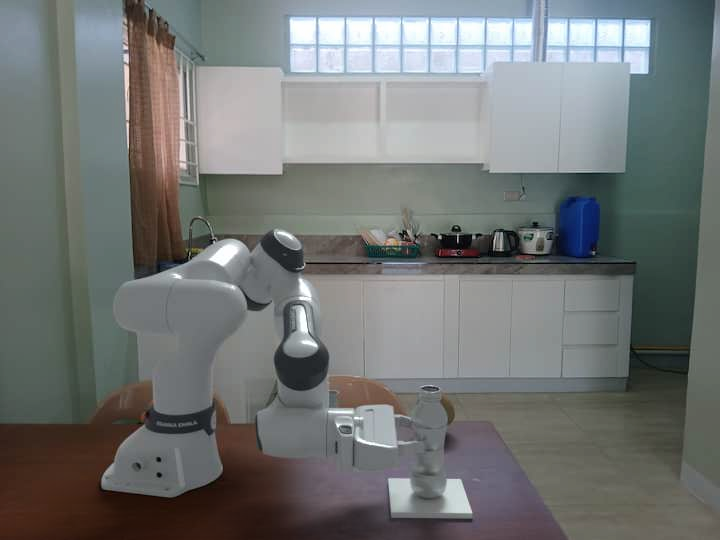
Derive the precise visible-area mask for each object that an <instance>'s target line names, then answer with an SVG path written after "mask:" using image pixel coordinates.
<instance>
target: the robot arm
mask: <svg viewBox="0 0 720 540" xmlns="http://www.w3.org/2000/svg"><path fill="white" fill-rule="evenodd" d="M259 241H260V242H258V244H257V245H256V246H255V247H254V249H253V250H252V251H251V252H250V250H249V248H248V246H246V244H244V243H243V242H242V241H241V240H238V239H236V238H225V239H221V240H219V241H216V242H214V243H212V244H210V245H209V246H207V247H206V248H204V249H203V250H202V251H201V252H199V253H198V254H197V255H195V256H194V257H193V258H191V259H190V260H189V261H187V262H185V263H183V264H180V265H177V266H175V267H172V268H169V269H167V270H164V271H161V272H159V273H156V274H153V275H150V276H149V275H148V276H146V277H142V278H138V279H133V280H128V281H126V282H124V283H122V285H120V286H119V288H118V289H117V290H116V293H115V295H114V298H113V302H112V313H113V316H114V319H115V321H116V323H118V324H117V325H119V326H120V328H122V329H124V330H127V331H130V332H132V333H133V332H134V333H137V334H142V335H147V336H167V337H177V339H178V346H177V350H176V351H174V352H172V353H170V354H168V355H165V356H164V357H163V358H161V359H160V360H159V361H158V362H157V363H156V364H155V366H154V368H153V371H152V400H151V401H150V402H149V403H148V404H147V405H148V406H147V407H146V408H145V409H144V411H143V413H142V414H141V417H140V418H141V419H140V420H141V422H144V424H143V425H142V426H141V427H139V428H138V429H136V430H135V431H134V432H133V433H131V434H130V435H129V436H128V437H127V438H125V440H124V441H123V442H121V444H120V445H119V446H118V448H117V451H116V453H115V456H114V461H113V463H111V465H110V466H109V467H107V469H106V470H105V471H104V473H103V475H102V477H101V483H100V486H101V488H102V490H105V491H114V492H122V493H129V494H137V495H138V494H140V495H146V496H155V497H164V498H175V497H177V496H180V495H182V494H184V493H186V492H188V491H190V490H194V489H197V488H201V487H204V486H206V485H208V484H210V483H211V482H214V481H216V480H217V479H218V478H220V476H221V474H222V473H223V470H224V469H223V464H222V462H221V458H220V455H219V451H218V445H217V439H216V432H215V431H216V427H217V411H216V404H215V403H216V402H215V400H214V399H213V383H214V381H213V380H214V367H215V366H214V365H215V361H216V358H217V357H218V356H217V355H218V354H219V352H220V350H221V348H222V347H223V345H224V344H225V343H226V341H228V339H229V340H230V338H231V337H232V336H234V335H235V334H237V333H238V332H239V330H240V329H241V328H242V327H243V325H244V323H245V321H246V318H247V315H248V311H250V312H261V311H263V310H265V309H266V308H267V307H268V306H270V305H271V303H272V302H273V303H274V307H273V308H274V309H273V321H274V322H273V323H274V328H275V332H276V335H277V338H278V340H279V341H280V343H279V345H278V347H277V349H276V350H275V352H274V355H273V364H274V369H275V374H276V381H277V391H278V393H277V394H276V397H275V398H274V400H273V401H272V402H271V403H270V404H269V405H267V407H266V408H264V409H262V410H258V411H257V412H256V414H255V417H254V418H255V419H254V429H255V438H256V445H257V448H258V449H259V450H258V451H260V452H261V453H262V454H264V455H266V456H270V457H276V458H282V459H283V458H284V459H305V458H309V457H319V458H322V459H328V460H331V459H332V460H333V461H334V462H335V464H336V465H337V466H338V469H339V471H341V472H343V473H344V472H345V473H351V472H353V471H354V468H355V469H356V470H358V471H390V470H393V469H395V468H397V467H398V466H399V457H405V456H410V455H411V454H412V455H413V454H414V452H416V453H422V452H424V441H423V440H422V439H414V440H411V441H406V442H405V441H404V440H398V436H397V435H398V434H397V429H398V428H399V429H400V428H406V429H407V428H408V429H409V430H410V431H411V430H412V424H411V423H412V422H411V417H409V416H406V415H404V414H398V413H397V414H395V408H394V406H393V405H389V404H367V405H360V406H356V408H355V407H339V408H329V390H330V385H329V382H330V381H329V365H330V354H329V350H328V348H327V346H325V344H324V343H323V342H322V340H321V339H320V338H321V335H322V331H323V323H324V322H323V319H324V318H323V310H322V305H321V304H322V303H321V301H320V298H319V295H318V292H317V291H316V289H315V287H314V285H313V284H312V282H310V281H308V280H307V279H305V278H304V277H303V276H302V275H301V272H302V271H304V270H305V269H306V262H305V261H304V259H305V258H304V256H305V255H304V254H305V253H304V250H303V247H302V244H301V241H299V239H298V238H297V237H296V236H295V235H293V234H291V233H290V232H289V231H286V230H284V229H280V228H274V229H273V228H272V229H270V230H269V231H267V232H266V233H265V234H264V235H263V236H262V237H261V238H260V240H259Z"/></svg>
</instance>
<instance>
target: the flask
mask: <svg viewBox="0 0 720 540" xmlns="http://www.w3.org/2000/svg"><path fill="white" fill-rule="evenodd" d="M339 396H340V391H339V390H336V389H332V390H331V389H329V408H340V406H339Z"/></svg>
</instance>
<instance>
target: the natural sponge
mask: <svg viewBox="0 0 720 540" xmlns="http://www.w3.org/2000/svg"><path fill="white" fill-rule="evenodd" d="M451 400H452V399H450V398H449V397H448V396H447V395H446V394H444V393H443V392H441V400H440V401H439V402H440V404H441V405H442V406H443V408H444V410H445V411H446V413H447V417H448V421H447V427H448V426H449V425H451V424H452V423H453V422H454V420H455V416H456V414H455V413H456V412H455V408H454V405H453V403H452V401H451ZM419 402H420V399H419V398H418V399H417V401H416V404H415V406H416V405H417V404H418V403H419Z"/></svg>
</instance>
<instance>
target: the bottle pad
mask: <svg viewBox="0 0 720 540" xmlns="http://www.w3.org/2000/svg"><path fill="white" fill-rule="evenodd" d="M446 479H447V485H446V490H445V492H444V493H443V494H442V495H441V496H440V497H438V498H433V499H428V498H422V497H419V496H417V495H416V494H415V493H414V492H413V490H412V489H411V485H410V477H409V478H402V477H401V478H393V477H391V478H390V477H388V479H387V486H388V499H389V508H390V518H391V519H399V518H401V519H464V520H466V519H469V520H470V519H473V511H472V507H471V504H470V502H469V499H468V496H467V493H466V490H465V486H464V484H463V481H462V479H461V478H446Z"/></svg>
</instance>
